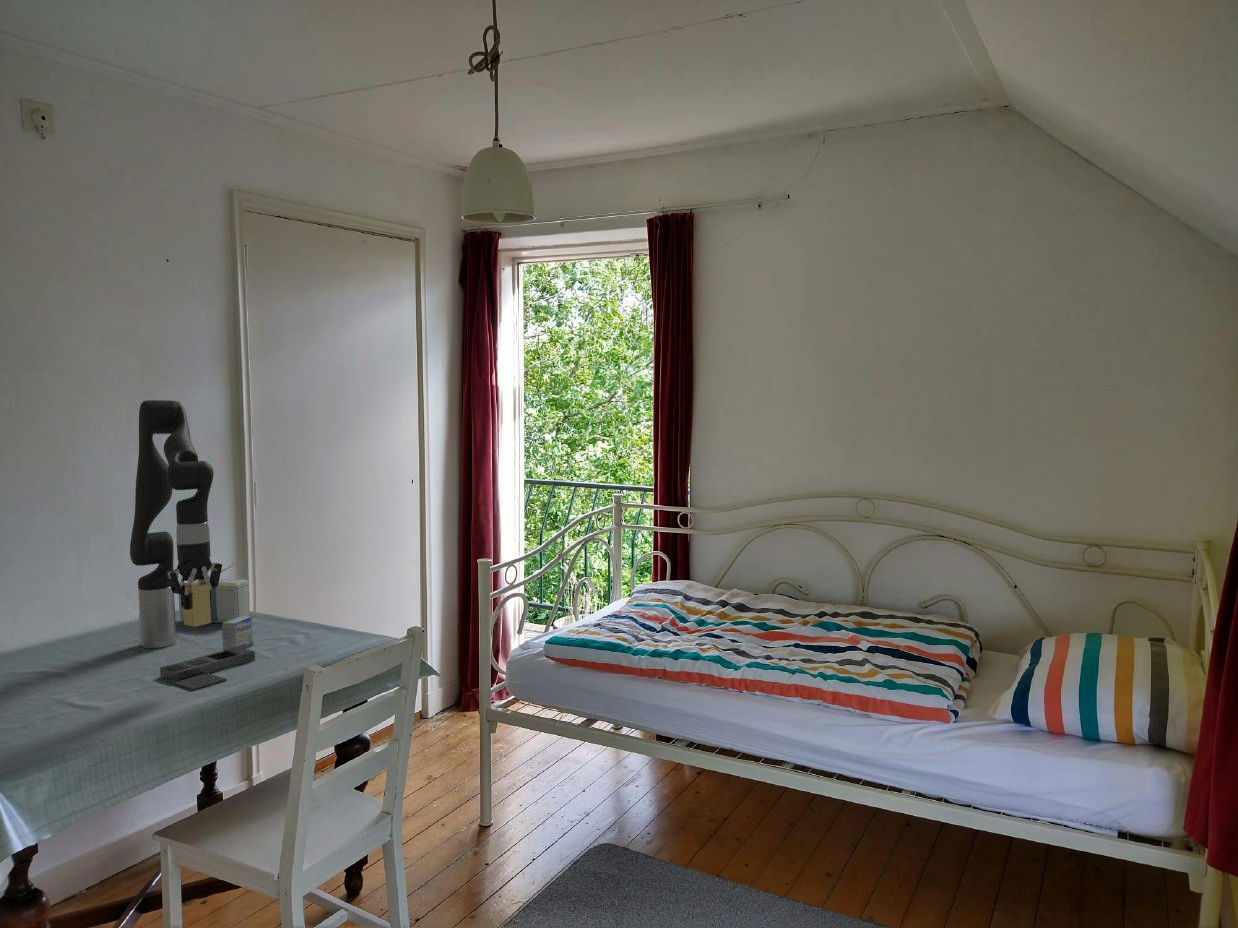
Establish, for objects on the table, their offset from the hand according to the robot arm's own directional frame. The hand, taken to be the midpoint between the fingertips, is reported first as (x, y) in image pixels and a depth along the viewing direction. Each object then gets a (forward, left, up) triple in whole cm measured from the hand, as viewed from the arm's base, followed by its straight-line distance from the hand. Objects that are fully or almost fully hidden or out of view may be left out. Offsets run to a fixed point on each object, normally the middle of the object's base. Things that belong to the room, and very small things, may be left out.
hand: (196, 606), depth 219 cm
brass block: (0, 0, -4) cm, 4 cm away
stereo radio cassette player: (-54, +38, -20) cm, 69 cm away
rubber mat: (0, 0, -20) cm, 20 cm away
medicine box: (-19, +23, -20) cm, 36 cm away
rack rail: (-9, +8, -20) cm, 23 cm away
